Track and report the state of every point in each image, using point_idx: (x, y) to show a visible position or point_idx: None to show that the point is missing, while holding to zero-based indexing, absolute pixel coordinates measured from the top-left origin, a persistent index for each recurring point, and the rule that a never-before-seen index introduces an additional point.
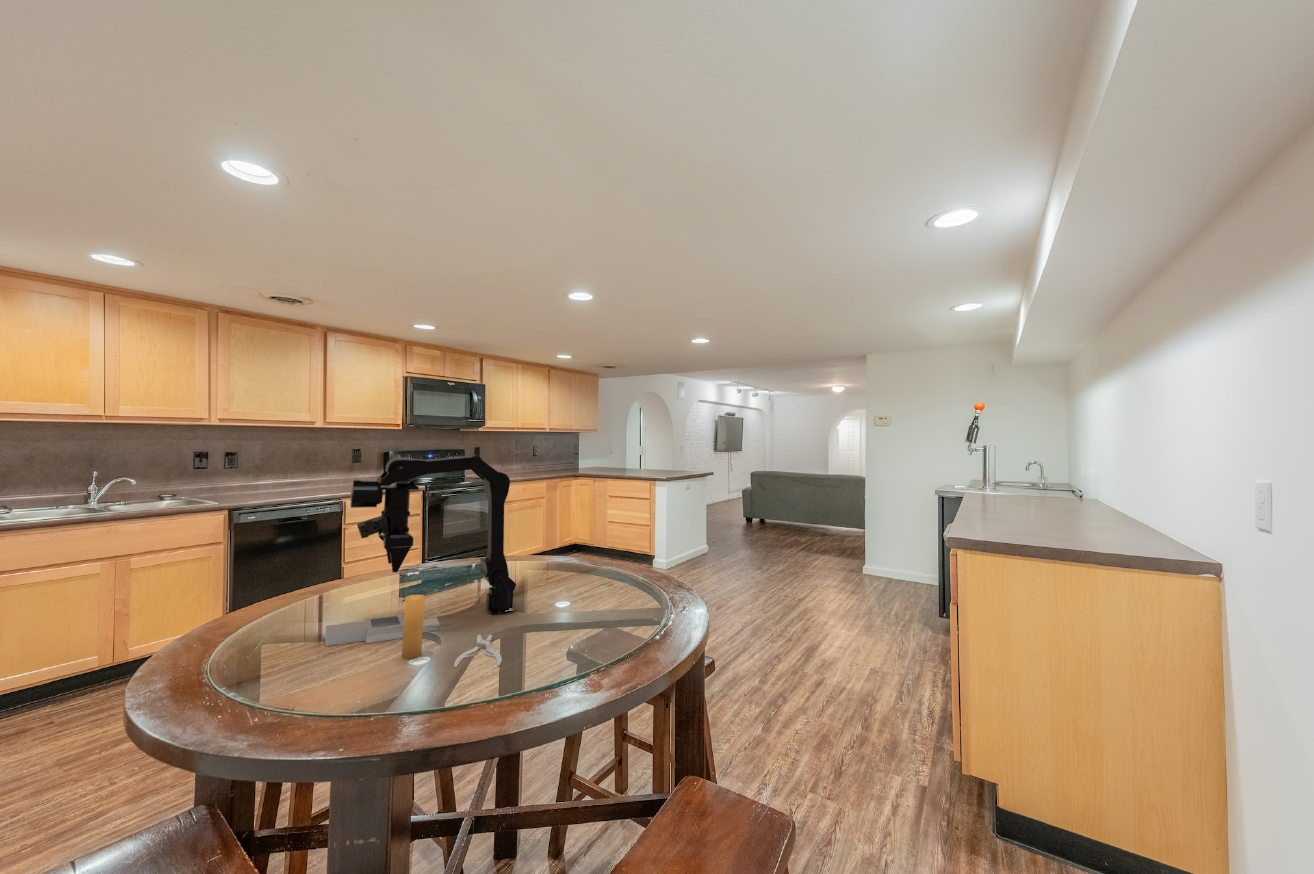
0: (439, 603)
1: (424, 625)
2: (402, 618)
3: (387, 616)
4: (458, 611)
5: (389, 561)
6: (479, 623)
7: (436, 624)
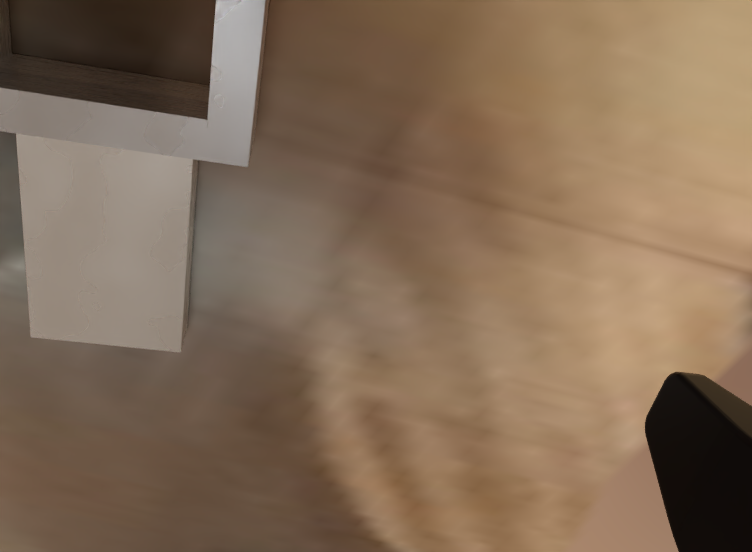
0: (546, 435)
1: (38, 248)
2: (122, 138)
3: (239, 43)
4: (335, 474)
5: (680, 403)
6: (68, 502)
7: (30, 317)
